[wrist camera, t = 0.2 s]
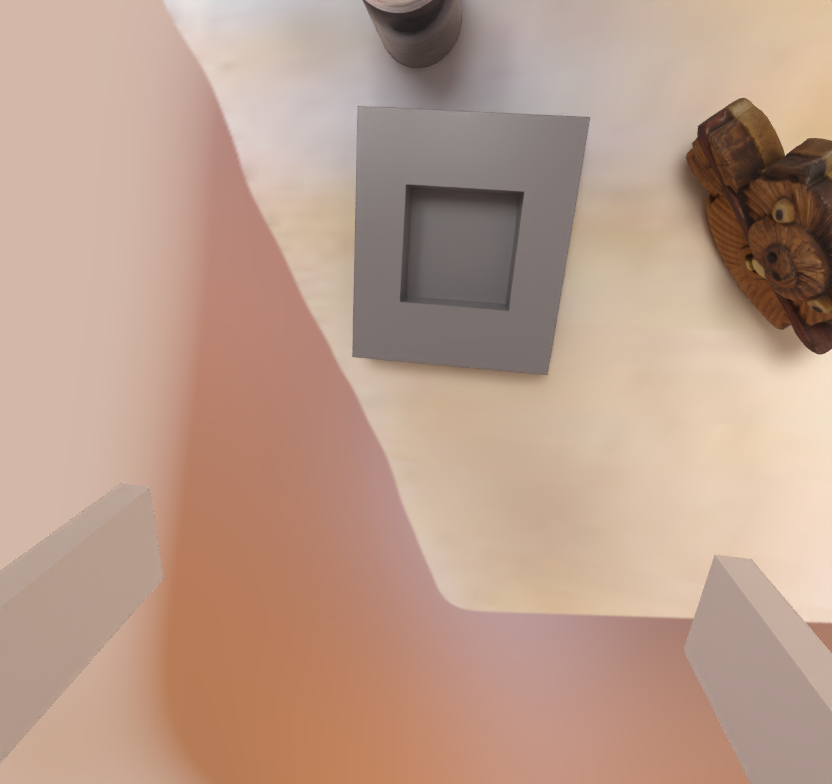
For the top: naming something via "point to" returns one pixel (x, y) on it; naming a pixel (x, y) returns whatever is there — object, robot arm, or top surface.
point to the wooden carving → (771, 217)
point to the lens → (416, 28)
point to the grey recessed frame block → (462, 235)
